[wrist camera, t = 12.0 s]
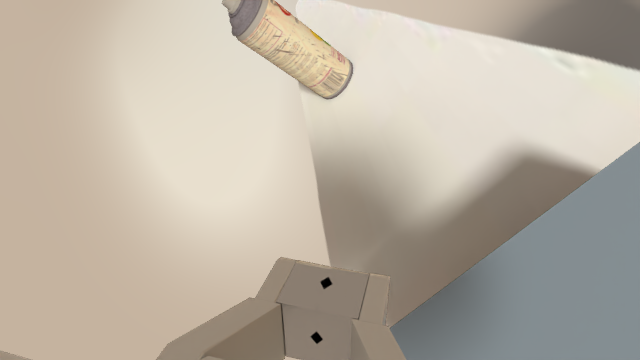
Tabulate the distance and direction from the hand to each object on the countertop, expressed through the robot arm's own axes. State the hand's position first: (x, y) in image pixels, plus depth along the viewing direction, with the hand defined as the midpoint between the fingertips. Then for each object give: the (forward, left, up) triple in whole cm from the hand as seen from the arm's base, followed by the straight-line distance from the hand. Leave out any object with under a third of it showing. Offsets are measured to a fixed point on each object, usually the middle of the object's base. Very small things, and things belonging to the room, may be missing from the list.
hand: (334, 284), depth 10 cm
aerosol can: (+47, +5, -26) cm, 54 cm away
